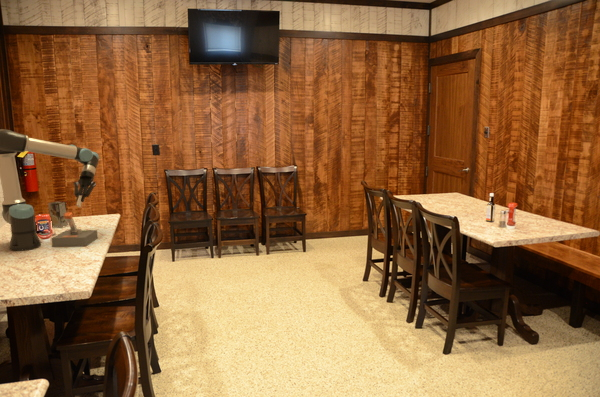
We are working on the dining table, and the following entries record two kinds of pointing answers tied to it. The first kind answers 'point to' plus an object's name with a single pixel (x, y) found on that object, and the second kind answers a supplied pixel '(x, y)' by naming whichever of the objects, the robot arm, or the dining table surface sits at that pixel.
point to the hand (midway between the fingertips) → (78, 206)
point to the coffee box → (58, 213)
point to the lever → (71, 222)
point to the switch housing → (74, 238)
